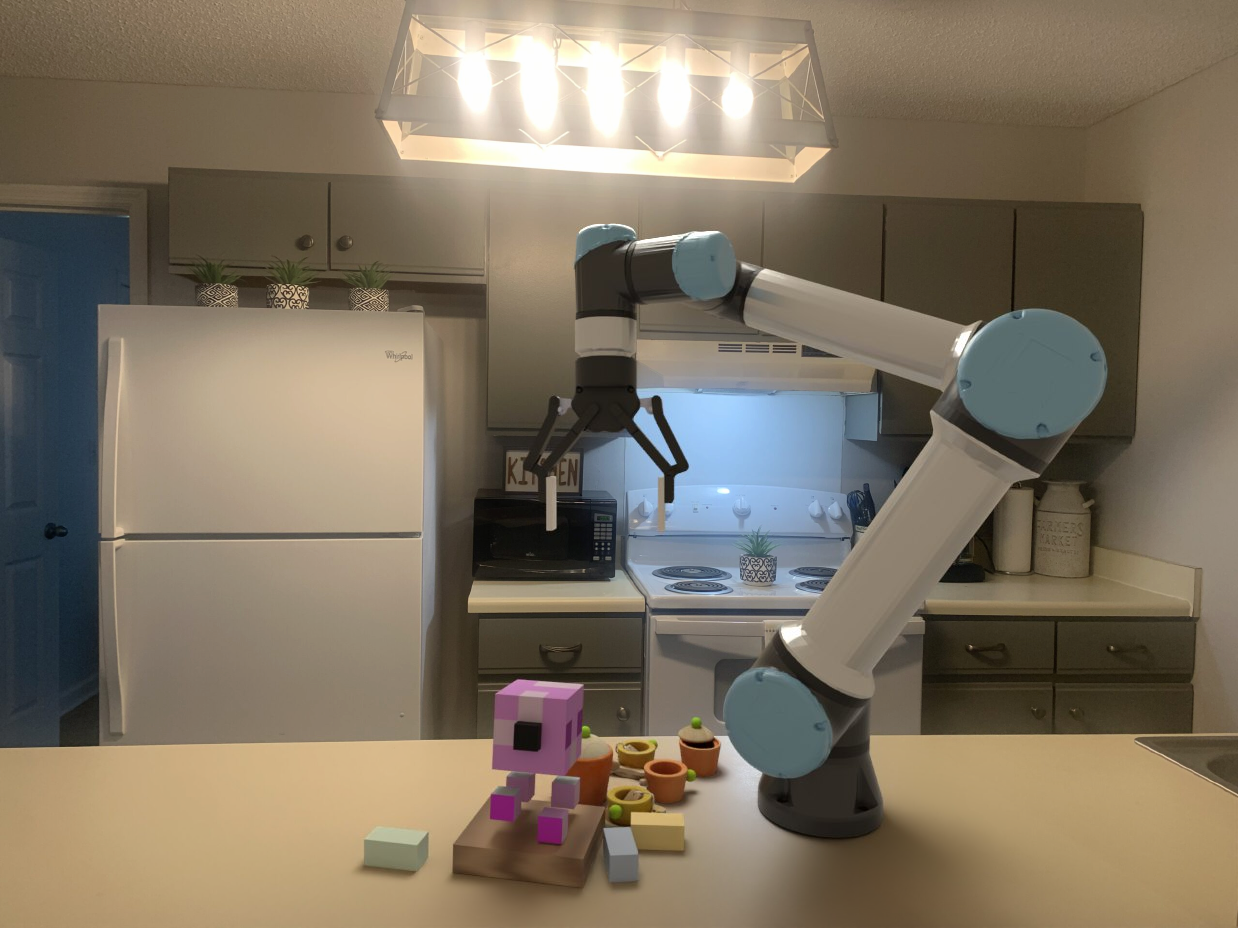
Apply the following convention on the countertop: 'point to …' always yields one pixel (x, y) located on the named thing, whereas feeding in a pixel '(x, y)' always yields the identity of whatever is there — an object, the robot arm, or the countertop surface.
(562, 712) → the toy
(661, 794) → the toy tea set
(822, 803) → the robot arm
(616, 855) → the brick slate
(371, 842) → the brick sage
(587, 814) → the pedestal
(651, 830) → the brick ochre
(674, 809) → the countertop surface
